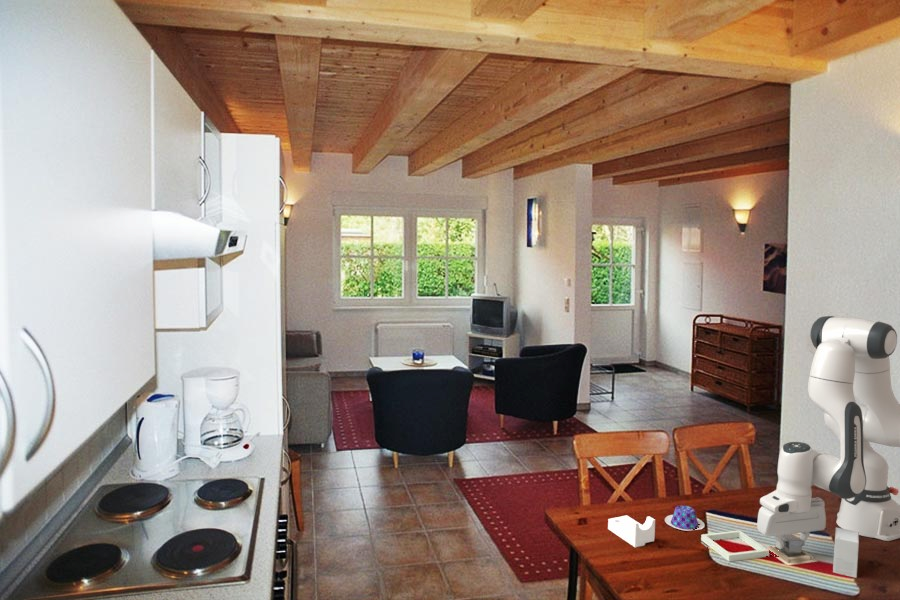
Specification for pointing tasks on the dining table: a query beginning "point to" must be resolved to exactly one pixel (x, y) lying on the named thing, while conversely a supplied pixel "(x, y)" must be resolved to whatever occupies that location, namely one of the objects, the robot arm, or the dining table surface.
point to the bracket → (633, 530)
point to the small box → (846, 552)
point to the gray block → (791, 545)
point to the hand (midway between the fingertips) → (790, 546)
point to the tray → (757, 553)
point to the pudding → (684, 519)
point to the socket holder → (792, 560)
